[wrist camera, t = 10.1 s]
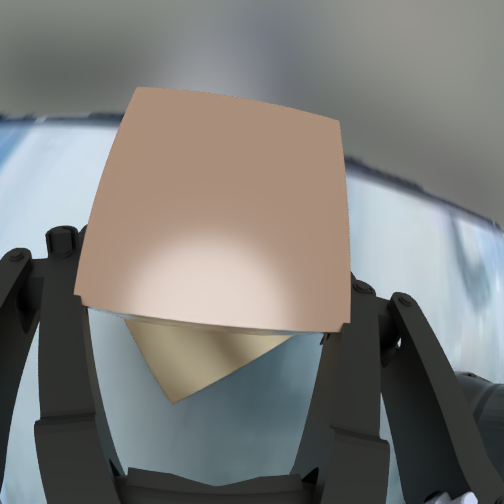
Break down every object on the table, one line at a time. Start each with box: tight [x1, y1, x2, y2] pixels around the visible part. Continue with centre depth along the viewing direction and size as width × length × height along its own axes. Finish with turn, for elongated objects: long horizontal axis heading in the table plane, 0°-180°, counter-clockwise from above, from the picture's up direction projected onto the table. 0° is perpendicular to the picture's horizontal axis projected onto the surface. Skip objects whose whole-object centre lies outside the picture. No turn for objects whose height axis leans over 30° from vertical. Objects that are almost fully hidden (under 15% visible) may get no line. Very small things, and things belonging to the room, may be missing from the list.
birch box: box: [124, 318, 293, 404], centre depth 29 cm, size 16×16×5 cm
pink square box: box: [74, 87, 351, 336], centre depth 14 cm, size 8×8×11 cm
